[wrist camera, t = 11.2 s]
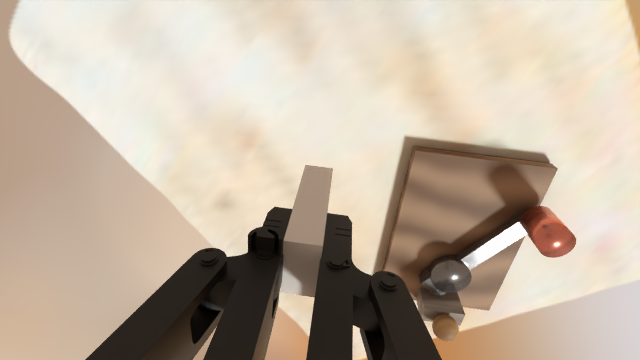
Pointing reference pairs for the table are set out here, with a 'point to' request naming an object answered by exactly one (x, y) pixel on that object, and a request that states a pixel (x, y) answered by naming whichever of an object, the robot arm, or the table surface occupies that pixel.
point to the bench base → (459, 224)
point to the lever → (499, 249)
